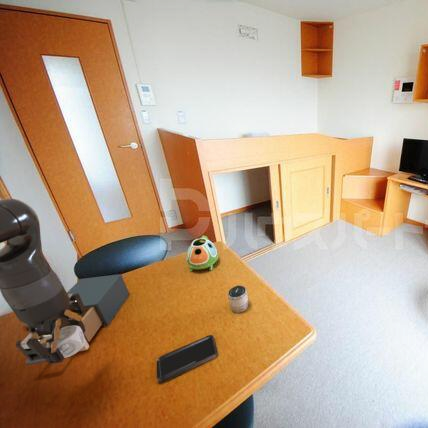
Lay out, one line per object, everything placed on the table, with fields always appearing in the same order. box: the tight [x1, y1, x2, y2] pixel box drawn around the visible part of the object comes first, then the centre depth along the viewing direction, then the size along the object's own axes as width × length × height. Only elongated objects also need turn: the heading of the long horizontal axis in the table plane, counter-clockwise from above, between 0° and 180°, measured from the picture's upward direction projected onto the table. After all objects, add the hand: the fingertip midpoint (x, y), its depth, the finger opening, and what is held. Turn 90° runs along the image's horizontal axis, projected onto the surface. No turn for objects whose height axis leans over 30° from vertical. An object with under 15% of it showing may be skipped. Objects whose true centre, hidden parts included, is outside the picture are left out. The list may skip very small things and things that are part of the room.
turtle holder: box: [185, 235, 219, 272], centre depth 108 cm, size 12×18×12 cm
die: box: [47, 325, 85, 359], centre depth 56 cm, size 5×5×5 cm
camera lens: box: [227, 285, 249, 314], centre depth 85 cm, size 6×6×8 cm
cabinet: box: [66, 273, 130, 328], centre depth 81 cm, size 15×13×10 cm
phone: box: [156, 334, 219, 384], centre depth 68 cm, size 8×1×15 cm
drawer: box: [24, 306, 103, 366], centre depth 70 cm, size 19×11×8 cm, turn 13°
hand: (69, 346), depth 56 cm, fingers closed on die, 6 cm apart
